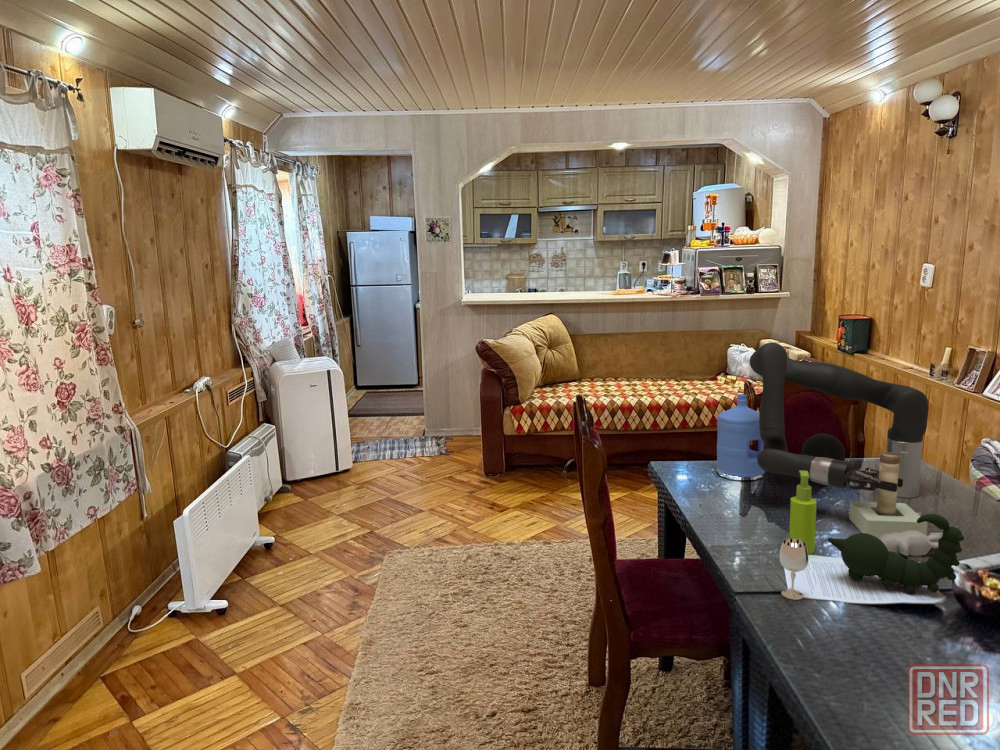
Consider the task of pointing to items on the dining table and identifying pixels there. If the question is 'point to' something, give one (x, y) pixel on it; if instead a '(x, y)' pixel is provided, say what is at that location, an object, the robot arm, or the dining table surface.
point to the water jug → (739, 440)
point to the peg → (889, 474)
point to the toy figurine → (901, 558)
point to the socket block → (884, 519)
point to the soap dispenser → (803, 514)
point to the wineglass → (793, 563)
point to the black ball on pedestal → (824, 447)
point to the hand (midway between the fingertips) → (899, 485)
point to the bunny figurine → (910, 542)
